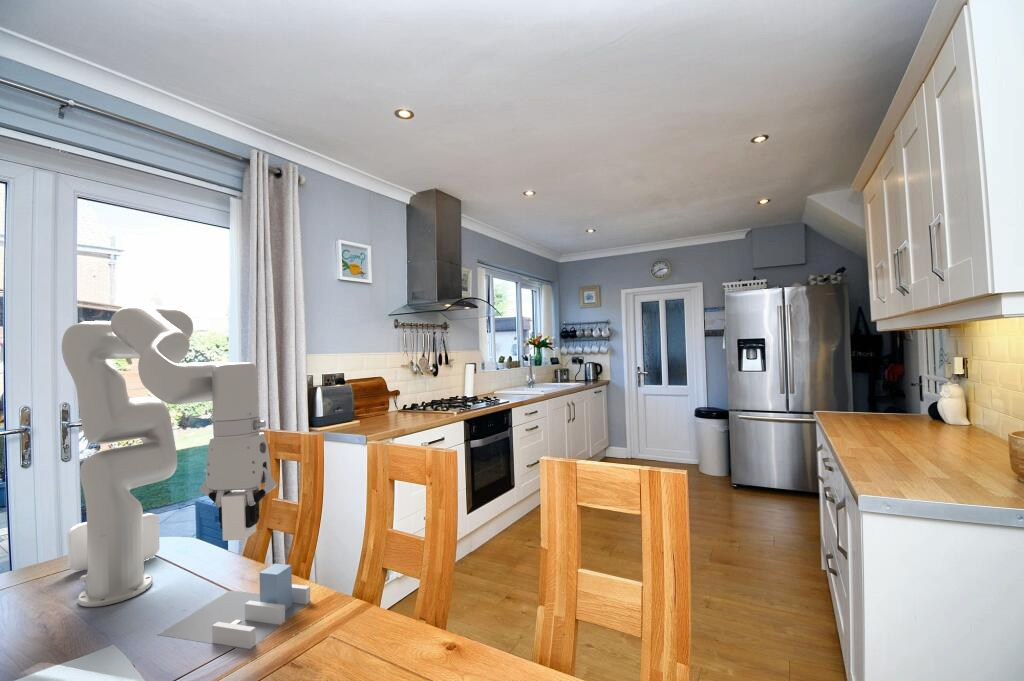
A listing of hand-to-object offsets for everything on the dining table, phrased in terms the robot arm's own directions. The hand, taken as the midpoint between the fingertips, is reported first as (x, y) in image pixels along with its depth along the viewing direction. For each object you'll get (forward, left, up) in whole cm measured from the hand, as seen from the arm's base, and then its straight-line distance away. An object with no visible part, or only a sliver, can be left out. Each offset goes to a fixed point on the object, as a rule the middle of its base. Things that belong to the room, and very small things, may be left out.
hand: (239, 524), depth 89 cm
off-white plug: (0, 0, -2) cm, 2 cm away
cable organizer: (-55, +17, -20) cm, 61 cm away
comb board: (-3, +2, -20) cm, 20 cm away
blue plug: (+3, +6, -18) cm, 20 cm away
